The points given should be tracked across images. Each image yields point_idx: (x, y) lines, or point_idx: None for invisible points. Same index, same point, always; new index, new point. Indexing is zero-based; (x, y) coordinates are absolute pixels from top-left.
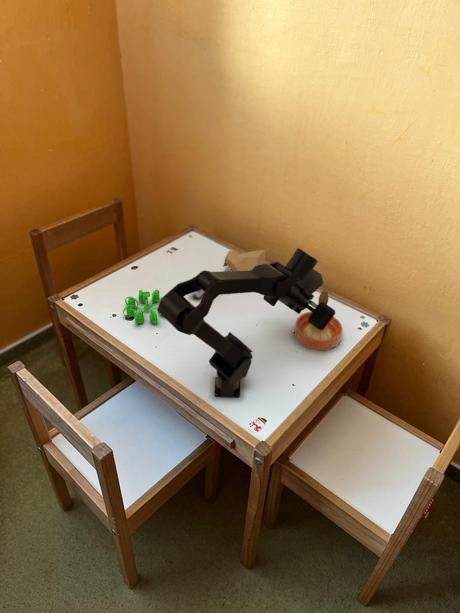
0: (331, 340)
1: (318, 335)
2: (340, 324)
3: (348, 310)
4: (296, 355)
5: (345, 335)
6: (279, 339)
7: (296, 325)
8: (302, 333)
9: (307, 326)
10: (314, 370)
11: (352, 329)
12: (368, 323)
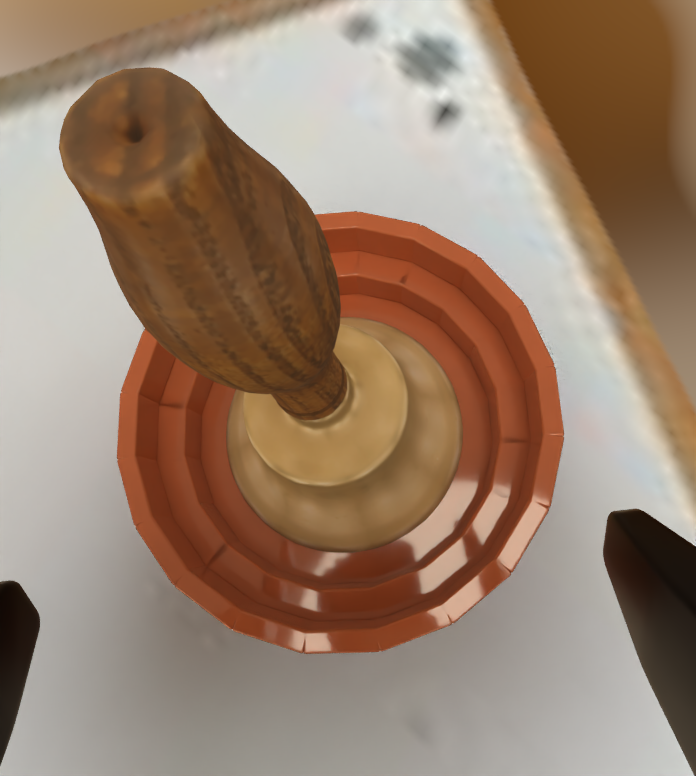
0: (560, 444)
1: (406, 477)
2: (416, 230)
3: (253, 62)
4: (454, 762)
5: None
6: (214, 760)
7: (209, 608)
8: (336, 637)
9: (239, 457)
10: None
11: (427, 161)
12: (433, 32)
